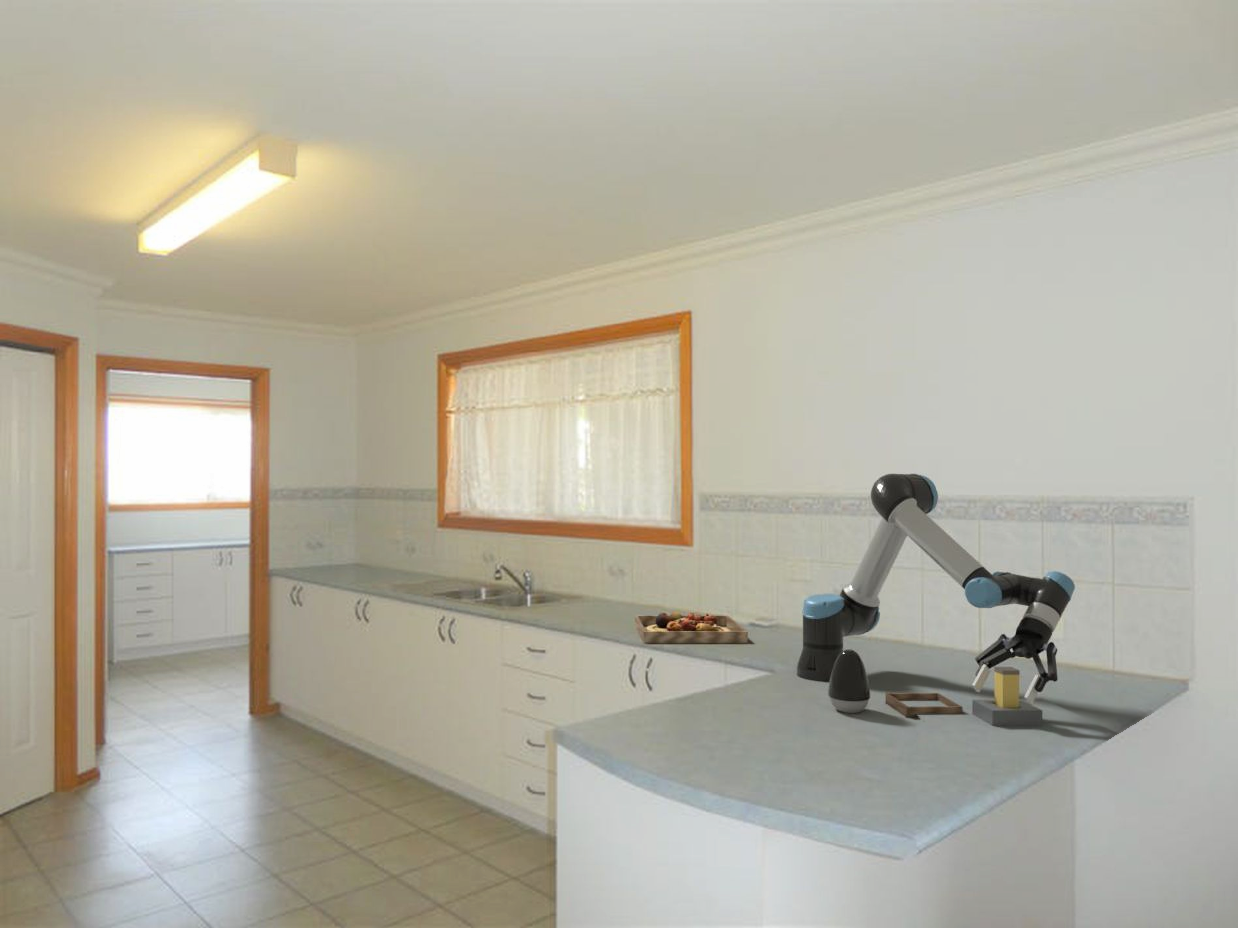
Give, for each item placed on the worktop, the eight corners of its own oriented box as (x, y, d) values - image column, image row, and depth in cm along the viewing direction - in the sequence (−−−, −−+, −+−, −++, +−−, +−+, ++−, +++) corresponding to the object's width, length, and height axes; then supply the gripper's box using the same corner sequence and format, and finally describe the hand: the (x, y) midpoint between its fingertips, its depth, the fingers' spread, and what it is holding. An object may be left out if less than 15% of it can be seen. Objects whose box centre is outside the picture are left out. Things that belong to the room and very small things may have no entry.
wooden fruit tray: (643, 643, 308) (643, 631, 308) (634, 625, 345) (634, 615, 345) (747, 642, 310) (747, 631, 310) (728, 625, 347) (728, 615, 347)
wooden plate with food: (719, 645, 307) (720, 621, 307) (633, 637, 318) (634, 614, 318) (739, 632, 337) (740, 611, 337) (660, 626, 348) (660, 605, 348)
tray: (906, 717, 214) (906, 707, 214) (885, 702, 228) (885, 693, 228) (962, 717, 215) (962, 706, 215) (938, 702, 229) (938, 692, 229)
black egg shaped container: (871, 707, 223) (871, 647, 224) (868, 717, 213) (869, 654, 214) (830, 703, 227) (830, 644, 227) (826, 713, 217) (826, 651, 217)
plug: (1002, 721, 207) (1002, 670, 207) (994, 717, 211) (994, 666, 211) (1019, 721, 207) (1019, 670, 208) (1010, 717, 211) (1010, 666, 212)
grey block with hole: (992, 729, 204) (992, 710, 204) (972, 718, 214) (972, 699, 214) (1042, 729, 205) (1042, 710, 205) (1020, 717, 215) (1020, 699, 215)
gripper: (1093, 643, 208) (1058, 716, 199) (997, 628, 228) (961, 693, 220) (1081, 623, 205) (1045, 695, 196) (985, 609, 226) (948, 674, 217)
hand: (1001, 694), depth 208 cm, fingers open, 13 cm apart
